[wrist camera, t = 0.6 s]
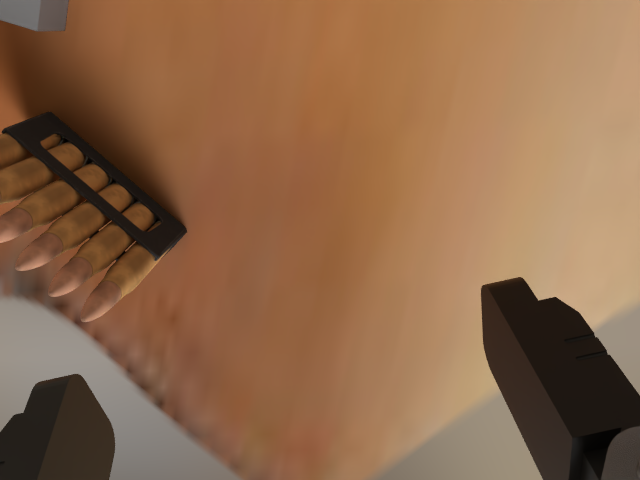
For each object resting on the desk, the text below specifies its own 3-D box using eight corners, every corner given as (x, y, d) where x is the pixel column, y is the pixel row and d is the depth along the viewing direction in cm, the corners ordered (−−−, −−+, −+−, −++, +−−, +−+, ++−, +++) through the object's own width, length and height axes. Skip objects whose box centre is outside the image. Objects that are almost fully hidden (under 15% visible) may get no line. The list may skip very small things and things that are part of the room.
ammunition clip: (188, 230, 37) (112, 320, 26) (170, 249, 38) (88, 346, 26) (49, 110, 35) (-100, 152, 24) (32, 133, 35) (-121, 184, 24)
